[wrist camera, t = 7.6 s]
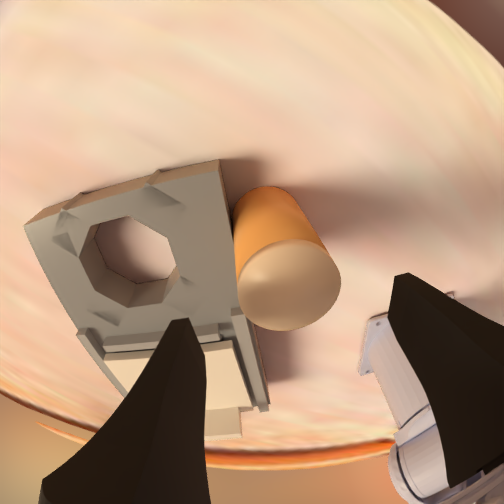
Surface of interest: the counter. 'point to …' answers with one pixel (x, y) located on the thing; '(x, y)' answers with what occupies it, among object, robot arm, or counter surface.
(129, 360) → the lid
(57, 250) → the housing
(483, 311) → the counter surface
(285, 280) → the orange cylinder
